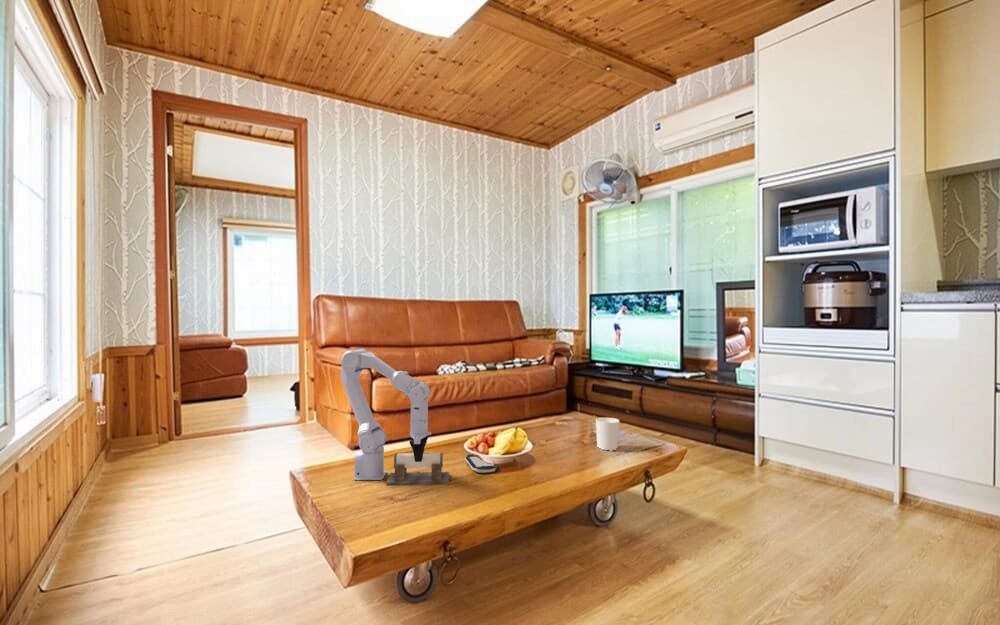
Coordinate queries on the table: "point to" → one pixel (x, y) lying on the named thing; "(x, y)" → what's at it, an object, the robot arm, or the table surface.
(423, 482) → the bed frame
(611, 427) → the white cylinder
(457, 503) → the table surface
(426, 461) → the rail
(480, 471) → the gaming console
